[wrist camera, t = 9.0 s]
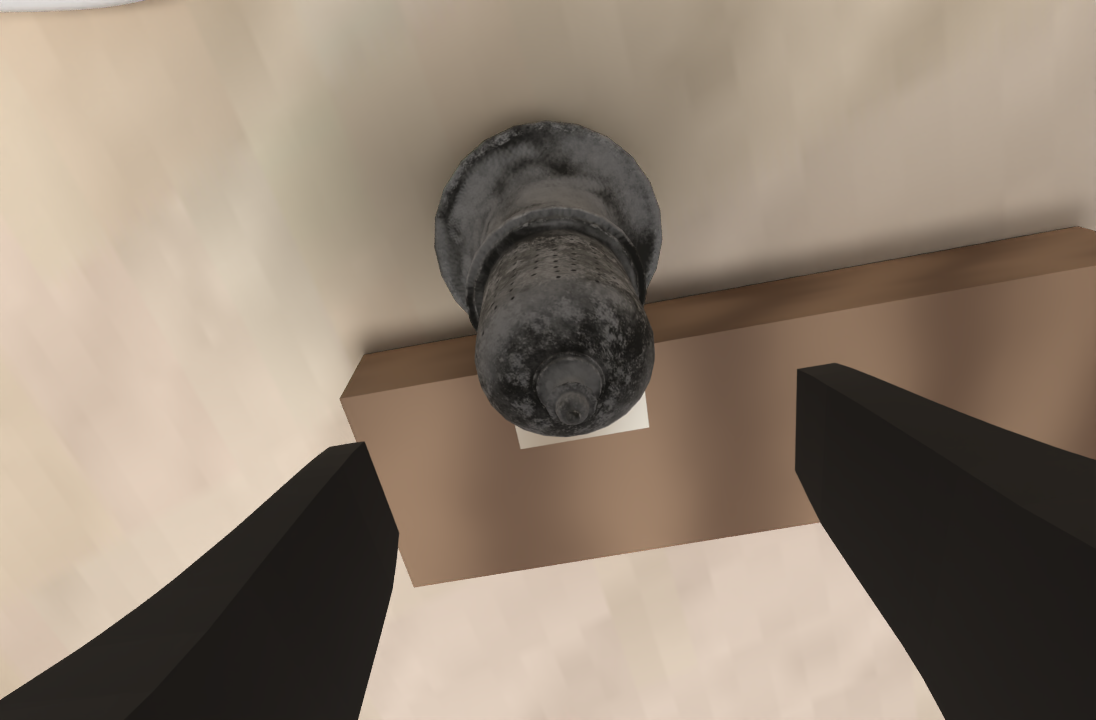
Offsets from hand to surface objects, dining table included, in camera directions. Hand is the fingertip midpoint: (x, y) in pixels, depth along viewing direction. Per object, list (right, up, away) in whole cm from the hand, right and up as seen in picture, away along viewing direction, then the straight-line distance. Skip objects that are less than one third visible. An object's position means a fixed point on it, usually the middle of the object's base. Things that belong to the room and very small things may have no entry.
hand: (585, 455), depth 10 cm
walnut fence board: (+6, 0, +12) cm, 13 cm away
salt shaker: (-1, +6, +9) cm, 11 cm away
